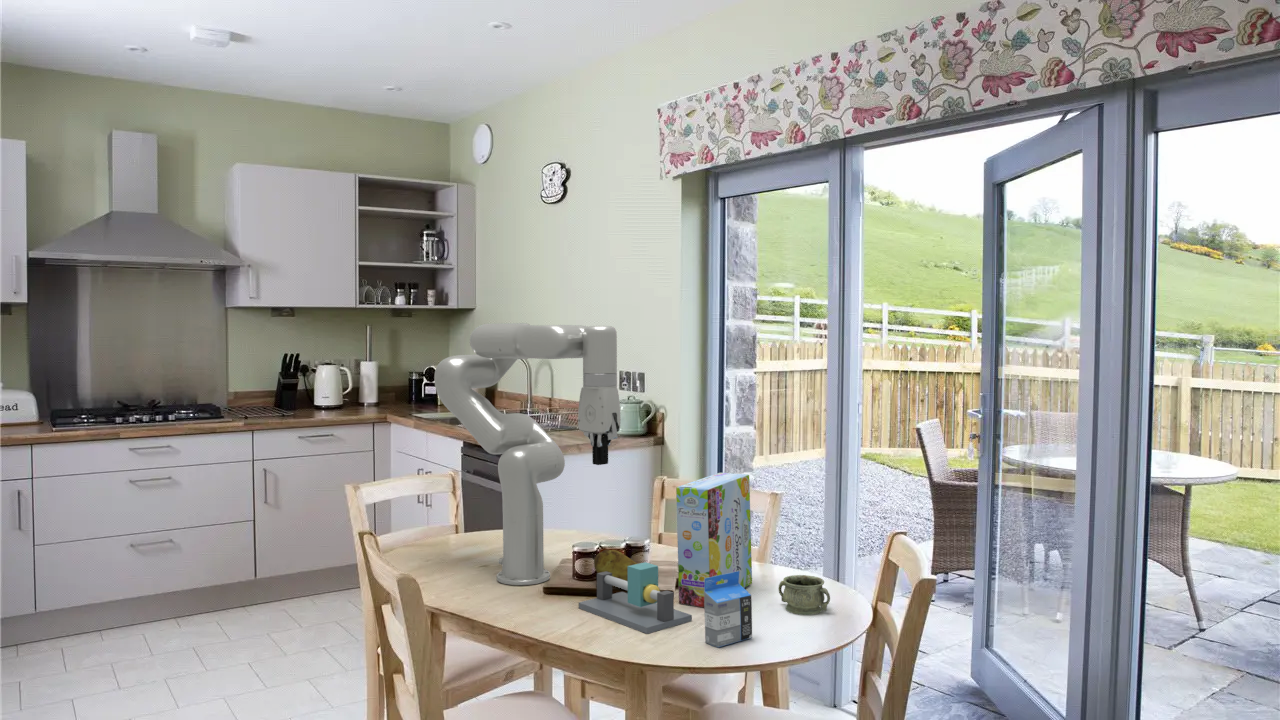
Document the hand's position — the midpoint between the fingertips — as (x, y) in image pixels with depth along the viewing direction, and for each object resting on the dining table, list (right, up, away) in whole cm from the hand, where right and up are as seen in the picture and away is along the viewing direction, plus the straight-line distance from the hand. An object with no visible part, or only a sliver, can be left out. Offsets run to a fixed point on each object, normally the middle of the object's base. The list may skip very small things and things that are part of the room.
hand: (600, 463), depth 201 cm
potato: (+4, -29, +7) cm, 30 cm away
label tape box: (+25, -30, -30) cm, 50 cm away
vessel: (+43, -30, -11) cm, 53 cm away
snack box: (+26, -29, 0) cm, 39 cm away
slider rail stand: (+7, -30, -14) cm, 33 cm away
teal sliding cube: (+9, -26, -16) cm, 32 cm away
